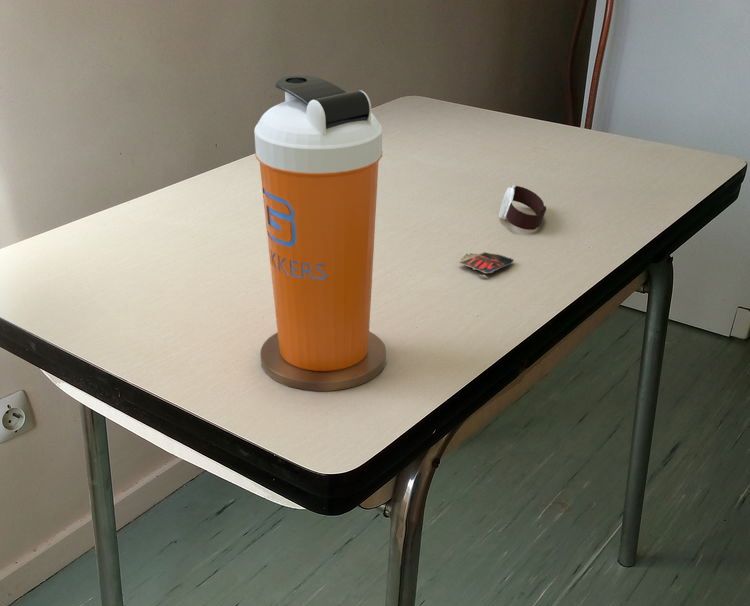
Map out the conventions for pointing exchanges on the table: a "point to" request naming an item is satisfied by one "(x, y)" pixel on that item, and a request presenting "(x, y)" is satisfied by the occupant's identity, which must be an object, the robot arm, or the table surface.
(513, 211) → the watch
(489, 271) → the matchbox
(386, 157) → the table surface
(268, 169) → the shaker bottle
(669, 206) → the table surface
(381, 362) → the coaster
